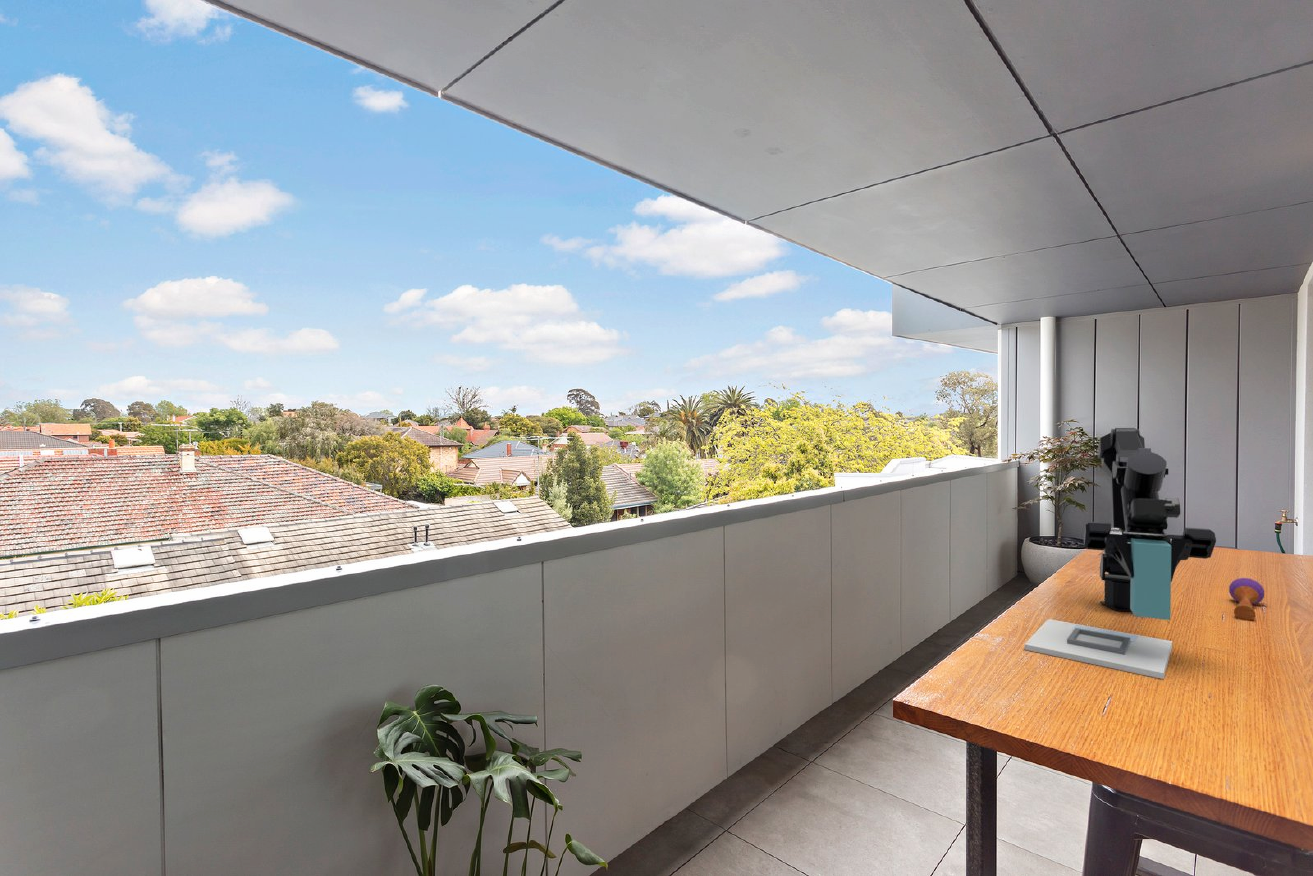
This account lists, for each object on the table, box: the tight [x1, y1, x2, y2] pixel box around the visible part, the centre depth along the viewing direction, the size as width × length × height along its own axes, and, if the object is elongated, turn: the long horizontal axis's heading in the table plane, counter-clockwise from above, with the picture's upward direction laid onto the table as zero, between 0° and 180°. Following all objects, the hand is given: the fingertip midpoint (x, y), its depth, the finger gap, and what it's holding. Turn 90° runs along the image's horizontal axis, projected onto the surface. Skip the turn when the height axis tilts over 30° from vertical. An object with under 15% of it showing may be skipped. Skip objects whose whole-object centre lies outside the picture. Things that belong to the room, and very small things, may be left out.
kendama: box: [1228, 577, 1265, 622], centre depth 138 cm, size 6×6×20 cm
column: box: [1130, 539, 1172, 621], centre depth 111 cm, size 5×5×13 cm
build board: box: [1024, 618, 1173, 680], centre depth 115 cm, size 20×20×2 cm
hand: (1151, 578), depth 109 cm, fingers closed on column, 5 cm apart
